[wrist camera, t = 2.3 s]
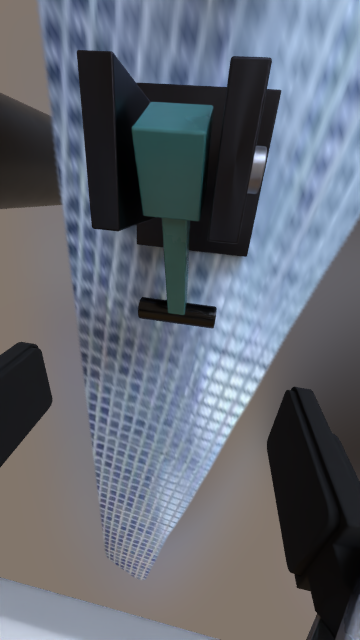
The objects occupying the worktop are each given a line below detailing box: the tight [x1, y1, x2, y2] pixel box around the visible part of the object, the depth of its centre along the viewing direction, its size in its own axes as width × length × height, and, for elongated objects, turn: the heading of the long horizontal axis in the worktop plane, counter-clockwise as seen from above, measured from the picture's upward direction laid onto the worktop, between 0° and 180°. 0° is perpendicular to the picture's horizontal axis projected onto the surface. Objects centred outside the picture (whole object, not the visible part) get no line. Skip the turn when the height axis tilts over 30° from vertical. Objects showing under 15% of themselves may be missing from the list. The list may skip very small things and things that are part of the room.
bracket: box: [77, 50, 281, 256], centre depth 13 cm, size 10×9×13 cm
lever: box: [131, 102, 217, 328], centre depth 12 cm, size 11×5×2 cm, turn 177°
